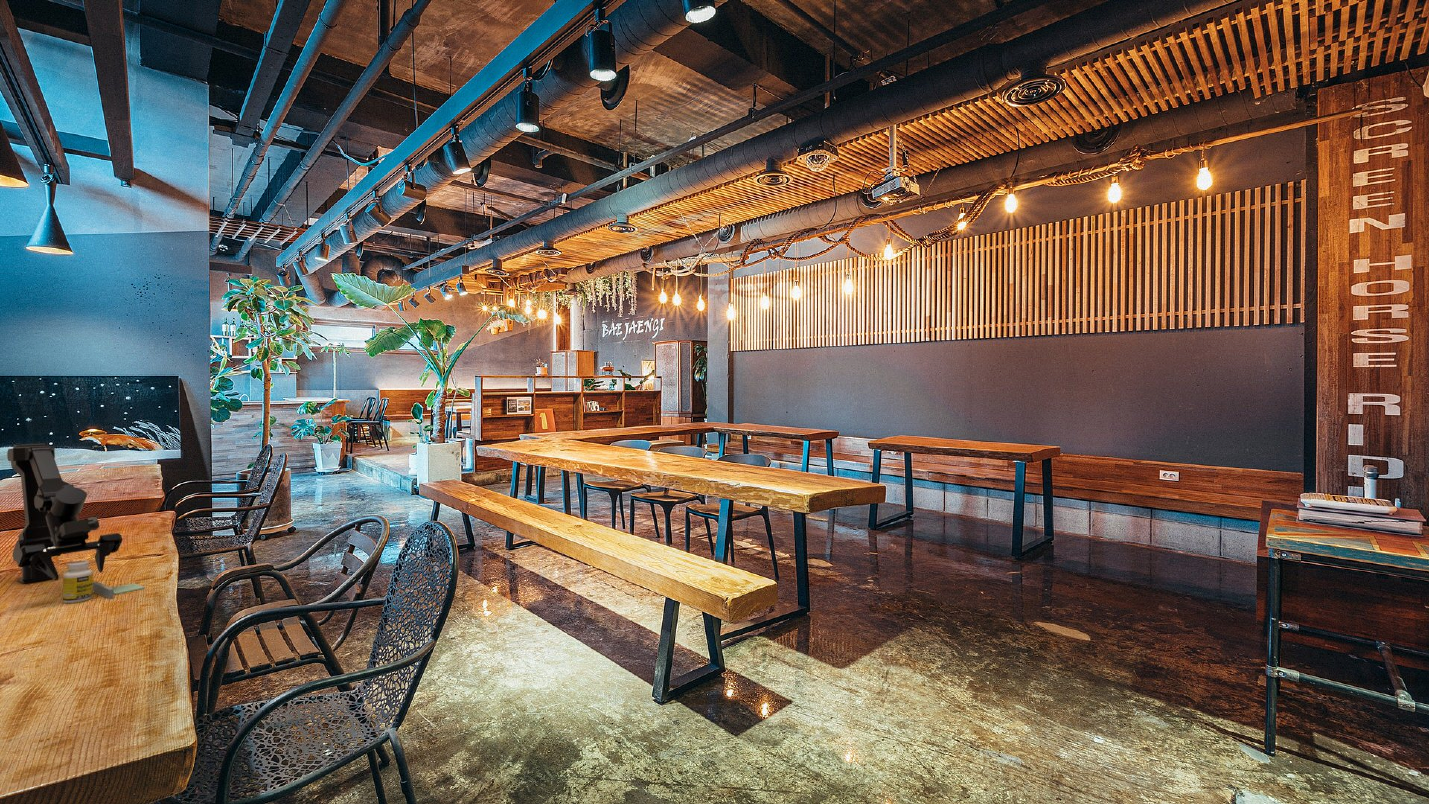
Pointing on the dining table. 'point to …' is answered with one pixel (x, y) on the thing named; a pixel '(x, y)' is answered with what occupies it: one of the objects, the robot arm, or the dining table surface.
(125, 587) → the coaster
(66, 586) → the supplement bottle
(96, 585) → the acrylic wall
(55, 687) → the dining table surface
